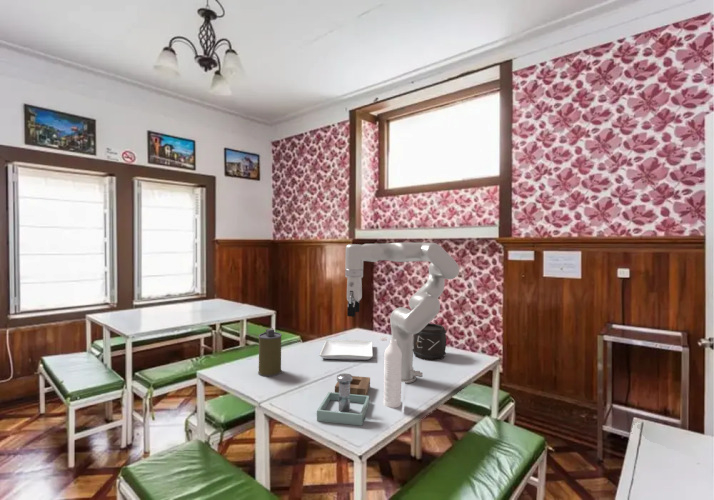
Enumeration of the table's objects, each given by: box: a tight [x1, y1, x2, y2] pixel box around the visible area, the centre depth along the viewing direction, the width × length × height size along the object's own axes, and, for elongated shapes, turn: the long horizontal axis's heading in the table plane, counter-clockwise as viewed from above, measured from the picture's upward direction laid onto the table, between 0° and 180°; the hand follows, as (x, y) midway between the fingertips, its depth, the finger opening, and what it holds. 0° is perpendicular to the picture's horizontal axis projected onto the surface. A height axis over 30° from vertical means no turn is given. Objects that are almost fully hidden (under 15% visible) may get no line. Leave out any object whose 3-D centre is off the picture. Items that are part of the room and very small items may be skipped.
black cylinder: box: [413, 322, 447, 361], centre depth 198 cm, size 18×18×16 cm
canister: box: [257, 327, 283, 377], centre depth 170 cm, size 11×10×20 cm
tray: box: [316, 391, 370, 427], centre depth 132 cm, size 16×16×4 cm
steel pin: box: [336, 373, 354, 413], centre depth 132 cm, size 6×6×12 cm
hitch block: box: [334, 375, 371, 396], centre depth 147 cm, size 12×12×5 cm
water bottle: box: [379, 336, 402, 409], centre depth 138 cm, size 9×6×25 cm
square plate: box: [318, 339, 374, 361], centre depth 200 cm, size 27×27×4 cm
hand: (353, 314), depth 156 cm, fingers open, 9 cm apart
